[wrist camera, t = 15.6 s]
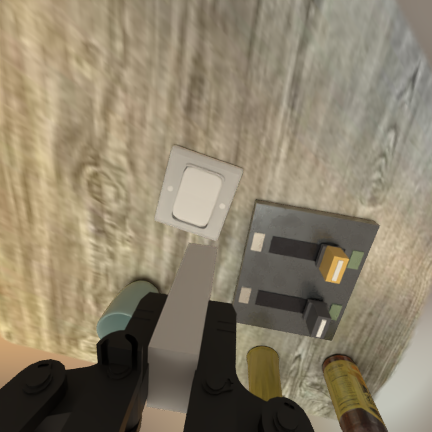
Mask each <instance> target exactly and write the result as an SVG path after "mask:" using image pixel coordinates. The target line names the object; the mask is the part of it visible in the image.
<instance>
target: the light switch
mask: <svg viewBox="0 0 432 432" xmlns="http://www.w3.org/2000/svg"><path fill="white" fill-rule="evenodd" d="M242 174H243V168H240V167H237V166H235V165H232V164H229V163H226V162H223V161H220V160H217V159H215V158H212V157H209V156H206V155H203V154H200V153H197V152H195V151H192V150H189V149H186V148H183V147H180V146H177V145H173V147H172V149H171V153H170V157H169V161H168V165H167V169H166V173H165V177H164V181H163V185H162V189H161V193H160V197H159V201H158V205H157V209H156V213H155V221H157V222H160V223H163V224H166V225H169V226H172V227H175V228H178V229H181V230H184V231H187V232H190V233H193V234H196V235H199V236H202V237H205V238H208V239H211V240H213V241H217V240H218V237H219V235H220V232H221V229H222V227H223V224H224V222H225V219H226V216H227V214H228V211H229V208H230V206H231V203H232V200H233V198H234V195H235V192H236V190H237V187H238V185H239V182H240V179H241V177H242ZM173 215H174V216H175V217H176V218H177V219H176V218H175V217H174V216H173ZM207 224H208V225H207ZM206 225H207V226H206ZM202 226H206V227H202Z"/></svg>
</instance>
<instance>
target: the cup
mask: <svg viewBox="0 0 432 432" xmlns="http://www.w3.org/2000/svg"><path fill="white" fill-rule="evenodd" d="M149 292H154V293H159V292H158V290H157V288H156V287H155V286H154V285H152V284H151V283H149V282H147V281H135V282H132V283H130V284H129V285H127V286H126V287H124V288H123V289H122V290H121V291H120V292H119V293H118V294H117V296H116V297H115V298H114V299H113V301H112V302H111V303H110V305H109V306H108V308H107V309H106V310H105V312H104V313H103V315H102V316H101V318H100V320H99V321H98V324H97V333H98V336H99V338H100V339H102V338H103V337H104V336H106V335H107V334H109V333H111V332H115V331H118V330H125V328H126V326H127V324H128V322H129V320H130V318H131V317H132V315H133V313H134V311H135V310H136V307H137V305H138V303H139V301H140V300H141V299H142V298H143V297H144V296H145V295H146V294H148V293H149Z"/></svg>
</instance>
